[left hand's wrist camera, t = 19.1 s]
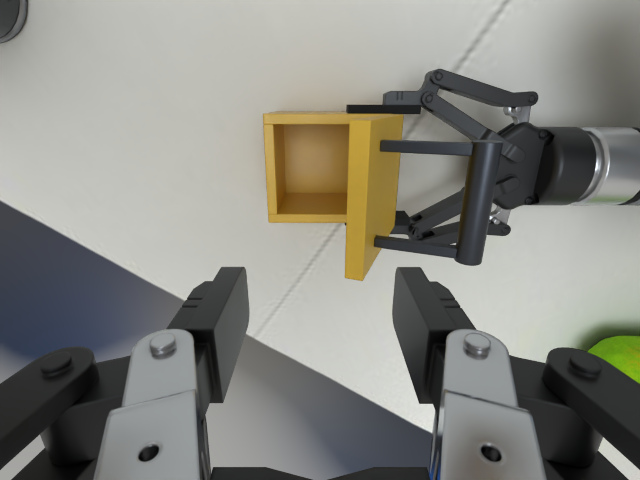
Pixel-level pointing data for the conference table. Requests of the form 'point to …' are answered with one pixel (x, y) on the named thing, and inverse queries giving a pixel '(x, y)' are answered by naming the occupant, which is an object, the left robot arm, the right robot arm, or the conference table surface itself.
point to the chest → (307, 165)
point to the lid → (381, 193)
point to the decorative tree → (621, 354)
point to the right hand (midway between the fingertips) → (345, 166)
